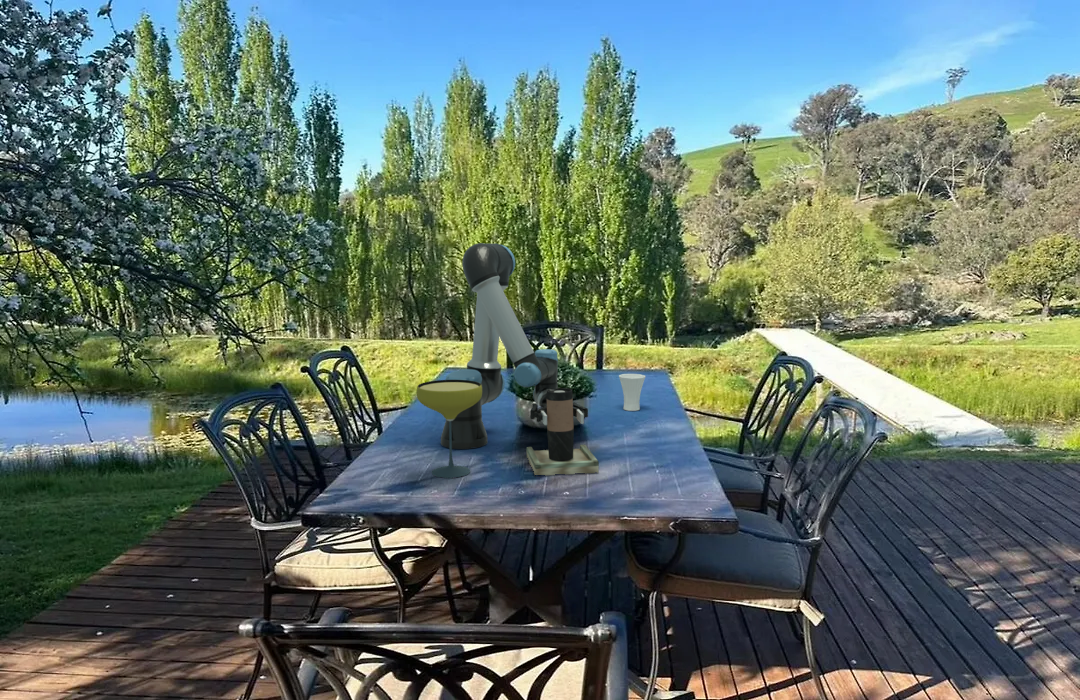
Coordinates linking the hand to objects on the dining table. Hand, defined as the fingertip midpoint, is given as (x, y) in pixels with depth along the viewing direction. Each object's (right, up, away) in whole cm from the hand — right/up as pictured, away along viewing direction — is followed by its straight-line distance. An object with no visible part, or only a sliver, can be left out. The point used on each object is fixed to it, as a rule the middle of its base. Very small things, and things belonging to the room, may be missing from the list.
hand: (564, 419), depth 195 cm
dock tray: (-1, -14, +6) cm, 15 cm away
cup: (+30, -4, +79) cm, 84 cm away
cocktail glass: (-32, -15, -1) cm, 35 cm away
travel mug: (-1, -12, +6) cm, 13 cm away
